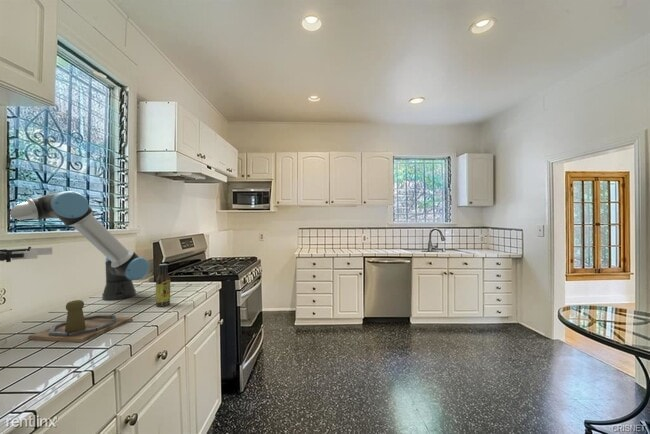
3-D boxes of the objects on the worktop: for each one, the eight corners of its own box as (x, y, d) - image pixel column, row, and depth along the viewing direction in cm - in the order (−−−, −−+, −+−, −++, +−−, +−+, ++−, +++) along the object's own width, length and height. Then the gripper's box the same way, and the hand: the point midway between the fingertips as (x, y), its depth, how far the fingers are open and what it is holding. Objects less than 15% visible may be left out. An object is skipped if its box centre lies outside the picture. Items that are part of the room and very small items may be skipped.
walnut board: (87, 318, 127) (87, 314, 127) (132, 320, 124) (132, 316, 124) (28, 339, 105) (28, 335, 105) (81, 342, 102) (81, 338, 102)
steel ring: (86, 316, 126) (86, 314, 126) (127, 318, 122) (127, 315, 122) (35, 334, 106) (35, 331, 106) (81, 337, 103) (81, 334, 103)
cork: (73, 334, 106) (72, 303, 106) (60, 333, 107) (59, 302, 107) (90, 328, 112) (89, 299, 112) (77, 326, 113) (77, 298, 113)
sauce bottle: (165, 307, 141) (164, 265, 141) (152, 307, 142) (152, 265, 142) (173, 303, 147) (172, 263, 147) (161, 303, 148) (161, 263, 148)
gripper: (-14, 262, 114) (57, 258, 123) (-62, 273, 92) (29, 267, 101) (-15, 243, 114) (57, 240, 123) (-62, 249, 92) (29, 245, 101)
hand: (45, 252), depth 112 cm, fingers open, 13 cm apart
